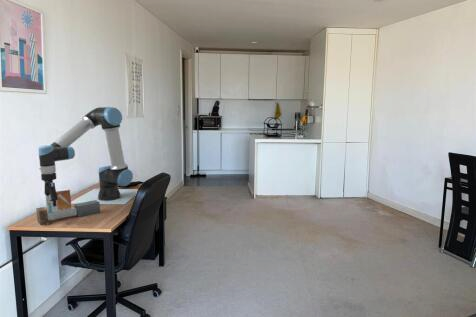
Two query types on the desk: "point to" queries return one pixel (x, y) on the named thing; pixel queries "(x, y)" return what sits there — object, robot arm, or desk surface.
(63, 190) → the small box
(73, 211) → the teal-ended white column
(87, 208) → the grey rectangular block
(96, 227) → the desk surface
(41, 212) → the socket
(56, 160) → the robot arm
